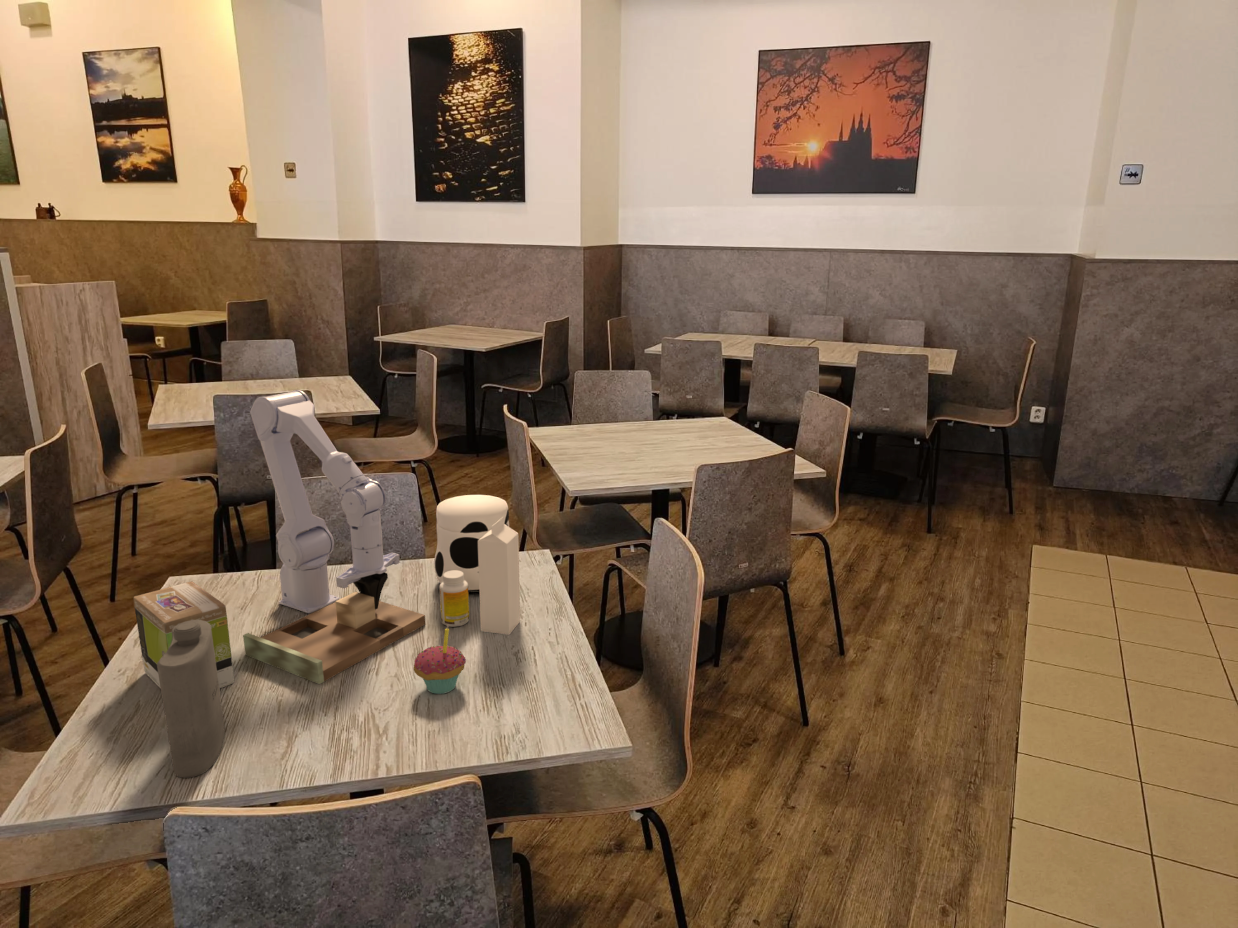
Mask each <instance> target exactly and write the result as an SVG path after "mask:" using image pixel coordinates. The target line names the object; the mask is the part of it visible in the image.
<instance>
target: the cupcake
mask: <svg viewBox="0 0 1238 928" xmlns="http://www.w3.org/2000/svg"><path fill="white" fill-rule="evenodd" d="M449 627H450V626H449V625H448V626H446V628H445V629H444V634H443V635H444V637H443V645H442V644H440V645H436V646H434V645H433V646H430V647H427V648H426V649H424V650H422V651H421V652H419V653H418V654H417V656H416V657H415V658H414V663H413V672H414V674H416V675H417V676H418V677H419V678H421V679H422V680H423V681H424V684H425V687H426V689H427V691H428V692H430V693H432V694H435V695H440V694H441V695H442V694H446V693H449V692H451V691H453V690H454V689H455V687H456V685H457V681H458V678H459V676H460V675H461V673H462V671H464V670H465V664H466V662H467V659H466V657H465V656H464V654H463V653H462V651H460V649H458V648H457V647H455V646H451V645H448V642H449V634H450V629H449Z"/></svg>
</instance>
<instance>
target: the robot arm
mask: <svg viewBox="0 0 1238 928" xmlns="http://www.w3.org/2000/svg"><path fill="white" fill-rule="evenodd" d="M315 411H316V410H315V404H314V402H312V401H311V399H310V397H309V396H308V394H306V392H304V391H302V390H300V389H295V390H291V391H289V392H284V393H279V394H273V395H268V396H259V397H257V398H256V399H255V400H254V401H253V404H252V407H251V409H250V411H249V413H250V416H251V419H252V424H253V426H254V429H255V432H256V435H257V439H258V440H259V443H260V445H261V449H262V451H263V455H264V458H265V461H266V464H267V468H268V470H269V474H270V477H271V481H272V485H273V487H274V491H275V493H276V497H277V500H278V504H279V506H280V510H281V513H282V516H283V519H284V522H283V524H282V526H281V527H280V528H279V530H278V531H277V533H276V535H275V537H276V541H277V546H278V547H277V553H278V557H279V559H280V561H281V562H282V566H281V568H280V571H279V581H280V590H281V591H280V592H281V598H282V599H281V600H279V601H278V603H279V604H280V605H282V606H286V607H287V608H291V609H295V610H298V611H301V612H303V613H306V614H311V613H313V612H316V611H318V610H320V609H322V608H324V607H326V606H328V605H330V604H333V603H335V601H337V600H339V599H340V597H339V596H336V595H334V594H330V592H331V591H330V586H329V585H330V583H329V571H328V562H327V561H328V560H330V554H332V552H333V551H334V548H335V540H334V536H333V534H332V533H331V532H330V530H329V528H328V527H327V524H326V520H325V519H323V518H322V517H319V516H317V515H314V514H313V512H312V509H311V505H310V502H309V499H308V496H307V493H306V489H305V486H304V483H303V479H302V476H301V473H300V468H299V467H298V466H299V465H298V462H297V460H296V456H295V452H294V449H293V447H292V442H291V439H292V438H293V436H294V434H295V435H297V436H298V437H299V438H300V439H301V440H302V442H304V444H305V445H307V447H308V448H309V449H310V450H311V451H312V452H313V453H314V454H315V456H316V457H317V458H319V461H321V472H322V474H324V476H325V477H326V479H327V480H328V481H329V483H330V484H331V485H332V486H333V488H334V489H335V490H336V491H337V493H338V494H339V496H340V497H341V498H342V499H341V500H340V505H341V509H342V511H343V512H344V513H345V516H346V522H347V524H348V525H349V529H350V530H349V531H350V540H351V541H350V542H351V554H352V565H351V566H350V567H349V568H348V569H346V570H345V571H344V572H343V573H341V574H340V575H338V576H336V577H335V581H336V587H337V588H341V589H346V588H348V587H349V586H348V585H351V584H353V585H354V586H355V587H356V589H357V591H358V593H361V594H365V595H368V596H371V597H374V604H375V610H376V609H378V605H379V601H381V600H380V599H381V595H382V591H383V588H384V585H385V584H386V582H387V580H388V579H389V577H388V572H387V570H388V569H387V568H388V567H391V566H392V565H399V564H400V563H401V562H400V554H398V553H395V552H389V553H388V554H384V550H383V549H384V548H383V533H382V520H381V517H382V516H381V509H382V508H384V507H385V504H386V500H387V496H386V492H385V489H384V488H383V486H382V484H381V483H380V482H378V481H376V480H373V479H371V478H370V477H368V476H366V475H364V473H363V472H362V470H361V469H360V468H359V466H358V465H357V464H356V463H355V462H354V460H353V458H351V456H350V455H349V454H348V453H346V452H343V451H338V450H337V449H336V447H335V445H334V444H333V442H332V441H331V439H330V437H329V436H328V434H327V433H326V432H325V430H324V429H323V427H322V425H321V424H320V422H319V421H318V420H317V418H316V417H315V415H316V414H315Z"/></svg>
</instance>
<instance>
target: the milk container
mask: <svg viewBox="0 0 1238 928" xmlns="http://www.w3.org/2000/svg"><path fill="white" fill-rule="evenodd" d="M435 513H436V514H435V519H436V539H437V546H436V550H435V551H436V552H435V555H434V563H433V564H434V566H433V567H434V572H435V576H436V579H437V581H438V582H439V584H441V583H442V582H443V574H444V573H445V572H448V571H452V570H458V571H461V572H463V574H464V580H465V581H466V582H467V583H468V593H477V592H478V593H480V591H479V563H478V540H479V539H480V538H482V537H483V536H484V535H485V534H486V533H487V532H489V531H490V530H492V525H494V524H495V523H496V522H497V521H498V520H500V519H501V518H502V517H504V524H505V525H507V526H508V527H510V521H509V518H510V516H509V515H510V512H509V506H508V503H507V501H506V500H505V499H503V498H501V497H497V496H493V495H489V494H487V495H486V494H467V495H466V494H464V495H458V496H454V497H449V498H446V499H445V500H443V501H441V502H439V503H438V505H437V506H436V512H435Z"/></svg>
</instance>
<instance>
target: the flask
mask: <svg viewBox="0 0 1238 928" xmlns="http://www.w3.org/2000/svg"><path fill="white" fill-rule="evenodd" d="M157 669H158V675H159V681H160V687H161V688H160V687H159V688H160V694H161V699H162V706H163V712H164V717H165V718H164V719H165V724H166V731H167V737H168V742H169V749H170V756H171V762H172V768H173V774H174V775H175V776H177V777H180V778H183V779H187V778H194V777H197V776H198V777H199V776H200V775H202V774H204V773H206V772H207V771H208V770H210V768H211V767H212V766H213V765H214V764H215V763H216V761H217V759H218V757H219V756H220V754H221V751H222V749H223V746H224V742H225V737H226V729H225V721H224V720H225V719H224V713H223V706H222V700H221V691H220V688H219V683H218V675H217V668H216V661H215V653H214V646H213V639H212V631H211V626H210V624H209V623H208V622H206V621H203V620H191V621H186V622H183V623H180V624H178V625H177V626H175V627H174V628H173V629H172V641H171V644H170V647H169V649H168V650H167V652H166V653H165V654H164V655H163V657H162V658H161V659H160V660H159V661H158V663H157Z"/></svg>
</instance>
